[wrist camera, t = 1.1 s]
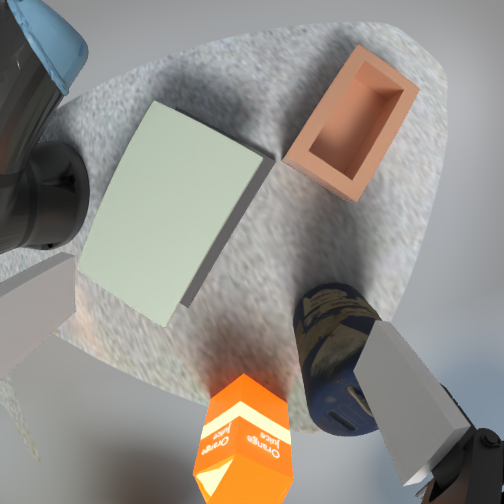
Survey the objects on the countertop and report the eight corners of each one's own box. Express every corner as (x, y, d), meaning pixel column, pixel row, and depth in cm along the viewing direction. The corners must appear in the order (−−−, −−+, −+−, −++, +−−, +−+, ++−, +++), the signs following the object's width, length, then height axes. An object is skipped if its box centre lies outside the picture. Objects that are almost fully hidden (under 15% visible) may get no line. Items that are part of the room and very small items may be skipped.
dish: (281, 160, 31) (285, 155, 25) (343, 63, 28) (358, 43, 22) (340, 199, 32) (356, 202, 26) (397, 101, 29) (419, 89, 23)
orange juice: (252, 426, 40) (246, 532, 21) (209, 399, 39) (182, 510, 20) (288, 402, 39) (297, 517, 19) (244, 372, 38) (231, 495, 18)
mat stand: (107, 251, 34) (80, 265, 28) (178, 109, 30) (160, 94, 24) (190, 304, 35) (176, 328, 29) (275, 162, 31) (278, 156, 25)
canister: (347, 265, 34) (417, 338, 16) (373, 324, 35) (434, 414, 18) (278, 302, 35) (288, 403, 17) (310, 357, 37) (334, 463, 19)
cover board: (89, 262, 28) (76, 268, 25) (163, 106, 24) (154, 100, 22) (172, 317, 29) (164, 328, 26) (263, 160, 25) (263, 157, 23)
